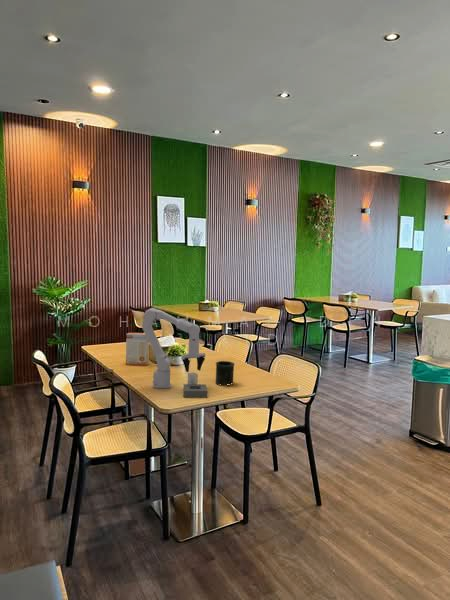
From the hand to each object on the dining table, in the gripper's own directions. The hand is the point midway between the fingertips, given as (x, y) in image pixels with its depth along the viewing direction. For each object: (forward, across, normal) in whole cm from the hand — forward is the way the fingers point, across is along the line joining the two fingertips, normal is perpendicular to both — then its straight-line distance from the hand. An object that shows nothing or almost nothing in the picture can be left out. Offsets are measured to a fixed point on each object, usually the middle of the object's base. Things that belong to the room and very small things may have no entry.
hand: (193, 370), depth 249 cm
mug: (+10, +21, 0) cm, 23 cm away
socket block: (+9, -5, -11) cm, 15 cm away
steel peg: (+9, 0, 0) cm, 9 cm away
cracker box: (+10, -4, +62) cm, 63 cm away
